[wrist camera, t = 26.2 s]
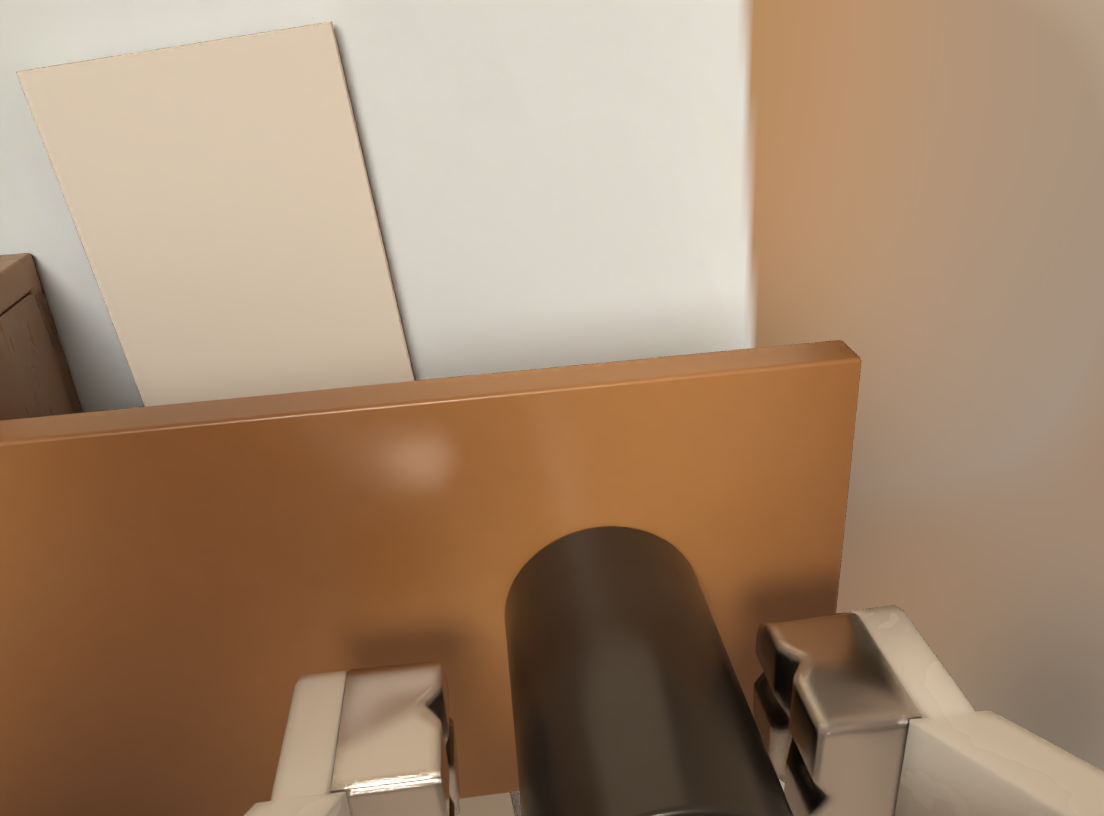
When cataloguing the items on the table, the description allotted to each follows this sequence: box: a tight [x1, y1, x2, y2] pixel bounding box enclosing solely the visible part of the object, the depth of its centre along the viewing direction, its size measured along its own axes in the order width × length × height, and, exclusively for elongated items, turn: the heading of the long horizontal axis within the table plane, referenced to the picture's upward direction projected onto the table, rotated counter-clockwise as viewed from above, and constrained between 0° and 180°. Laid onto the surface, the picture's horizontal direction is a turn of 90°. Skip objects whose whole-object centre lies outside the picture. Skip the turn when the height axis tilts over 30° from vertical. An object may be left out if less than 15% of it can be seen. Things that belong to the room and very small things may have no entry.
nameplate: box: [16, 22, 515, 816], centre depth 19 cm, size 22×1×5 cm
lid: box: [0, 340, 861, 816], centre depth 9 cm, size 18×6×5 cm, turn 93°
